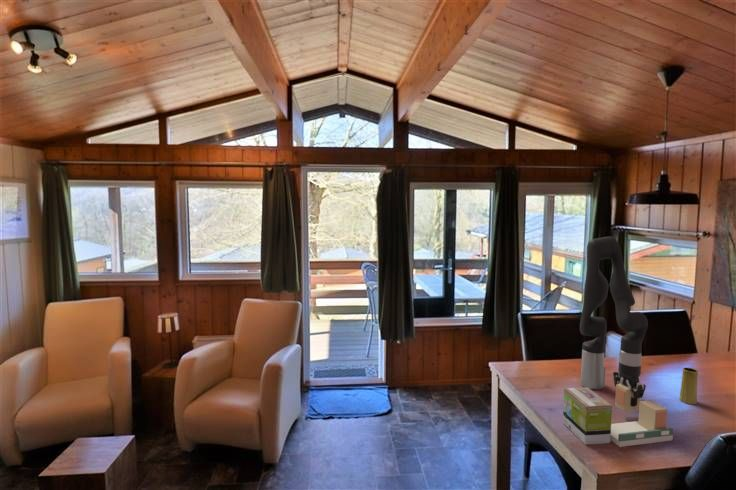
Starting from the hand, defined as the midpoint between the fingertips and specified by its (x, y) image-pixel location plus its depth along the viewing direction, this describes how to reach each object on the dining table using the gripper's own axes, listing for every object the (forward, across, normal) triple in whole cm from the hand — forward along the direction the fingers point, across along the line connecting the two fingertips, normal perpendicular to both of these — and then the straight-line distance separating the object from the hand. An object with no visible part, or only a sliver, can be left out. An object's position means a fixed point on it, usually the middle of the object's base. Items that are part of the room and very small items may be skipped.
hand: (627, 402), depth 168 cm
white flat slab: (+6, -12, +8) cm, 16 cm away
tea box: (+6, -7, +25) cm, 26 cm away
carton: (+2, 0, 0) cm, 2 cm away
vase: (+7, +6, -37) cm, 38 cm away
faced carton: (+4, -12, +1) cm, 13 cm away
